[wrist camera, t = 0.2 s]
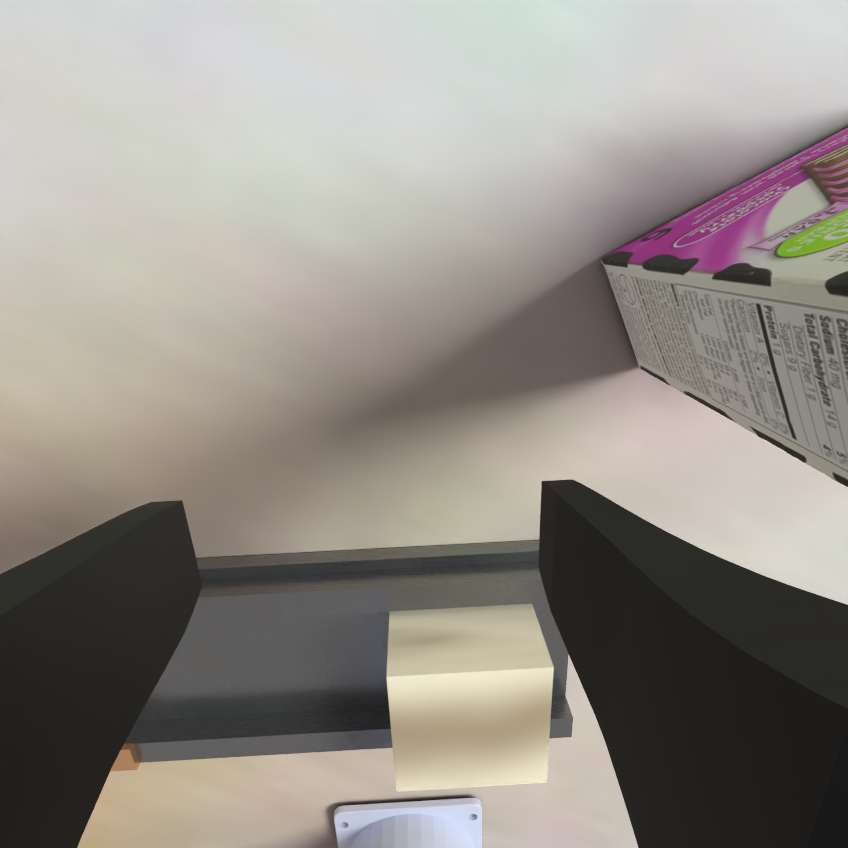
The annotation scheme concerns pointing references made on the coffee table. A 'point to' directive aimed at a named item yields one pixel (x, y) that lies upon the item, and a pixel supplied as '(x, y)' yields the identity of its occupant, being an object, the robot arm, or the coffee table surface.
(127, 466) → the coffee table surface
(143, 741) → the chute
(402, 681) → the block
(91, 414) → the coffee table surface
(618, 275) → the candy bar box
